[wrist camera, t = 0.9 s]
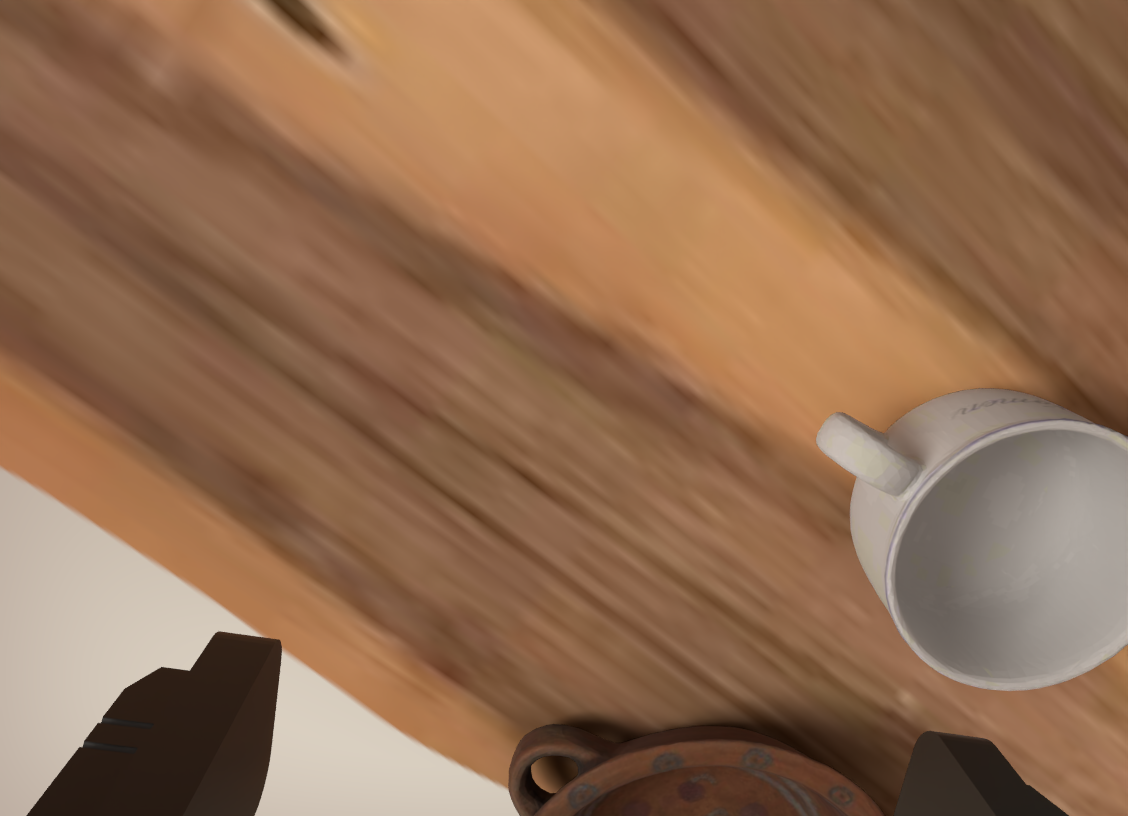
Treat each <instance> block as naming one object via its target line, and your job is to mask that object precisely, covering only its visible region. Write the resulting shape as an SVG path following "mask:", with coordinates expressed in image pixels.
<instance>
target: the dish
mask: <svg viewBox="0 0 1128 816" xmlns="http://www.w3.org/2000/svg"><path fill="white" fill-rule="evenodd" d="M551 755H559V756H564V757H569V758H571V759H572V760H574V761H575V762H576V764H577V766H578V775H577V776H576V777H575V778H574V779H573V780H572V781H570V782H569V783H567V784H566V785H564V786H563V787H562V788H561V789H560V790H559V791H558V792H557V793H549V792H547V791H545V790H543V789H541V788H540V787H539V786H538V785H537V784H536V783H535V781H534V780H533V778H532V773H531V765H532V764H533V763H534V762H535V761H536V760H538V759H540V758H542V757H545V756H551ZM508 786H509V793H510V796H511V799H512V802H513V804H514V806H515V808H516V810H517V811H518V813H519V815H520V816H885V814H884V813H883V812H882V810H881V808H880V807H879V806H878V805H877V804H876V803H875V802H874V801H873V800H872V799H871V798H870V797H869V795H867V794H866V793H865V792H864V791H863V790H862V789H861V788H860V787H859V786H857V785H856V784H855V783H853V782H852V781H851V780H850V779H848V778H847V777H845V776H844V775H842V774H841V773H839V772H838V771H836V770H835V769H833V768H831V767H829V766H827V765H825V764H823V763H821V762H818V761H816V760H814V759H812V758H810V757H807V756H806V755H804V754H803V753H801V752H799V751H798V750H796V749H794V748H792V747H791V746H788V745H786V744H784V743H782V742H780V741H778V740H776V739H773V738H771V737H768V736H766V735H763V734H759V733H756V732H753V731H750V730H746V729H741V728H736V727H725V726H694V727H686V728H679V729H672V730H667V731H662V732H658V733H653V734H649V735H646V736H643V737H640V738H637V739H633V740H630V741H627V742H623V743H614V742H611V741H609V740H606V739H603V738H601V737H599V736H596V735H594V734H592V733H589V732H587V731H585V730H582V729H580V728H576V727H572V726H568V725H559V724H552V725H546V726H543V727H540V728H537V729H535V730H533V731H531V732H530V733H528V734H527V735H525V736H524V737H523V738H522V739H521V740H520V742H519V744H518V746H517V748H516V750H515V753H514V755H513V758H512V761H511V765H510V768H509V784H508Z"/></svg>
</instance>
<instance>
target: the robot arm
mask: <svg viewBox="0 0 1128 816" xmlns="http://www.w3.org/2000/svg"><path fill="white" fill-rule="evenodd" d="M281 655H282V646H281V641H280V640H277V639H270V638H263V637H255V636H248V635H241V634H233V633H227V632H217V633H215V635H214V636H213V637H212V639H211V640H210V642H209V643H208V645H207V646H206V648H205V649H204V651H203V652H202V654H201V655H200V657H199V658H198V659H197V661H196V662H195V664H194V665H193V667H192V668H191V670H190V671H187V670H180V669H172V668H164V667H161V668H159V669H157V670H156V671H154V672H152V673H151V674H149V675H147V676H146V677H144V678H142V679H140V680H139V681H137V682H135V683H134V684H132V685H130V686H129V687H127V688H125V689H124V690H123V692H122V693H121V694H120V696H119V697H118V698H117V699H116V701H115V702H114V703H113V705H112V706H111V707H110V709H109V710H108V711H107V712H106V714H105V715H104V716H103V719H102V722H101V723H98V724H97V725H96V726H95V728H94V729H93V730H92V732H91V733H90V734H89V736H88V737H87V738H86V740H85V741H84V745H83V747H79V748H78V750H77V751H76V752H75V754H74V755H73V756H72V758H71V759H70V760H69V761H68V763H67V764H66V765H65V767H64V768H63V769H62V770H61V772H60V773H59V774H58V776H57V777H56V778H55V779H54V781H53V782H52V783H51V785H50V786H49V787H48V788H47V790H46V791H45V792H44V794H43V795H42V796H41V798H40V799H39V800H38V801H37V803H36V804H35V806H34V807H33V808H32V809H31V811H30V812H29V813H28V815H27V816H254V815H255V813H256V810H257V808H258V805H259V802H260V799H261V795H262V792H263V789H264V784H265V780H266V776H267V772H268V767H269V762H270V755H271V747H272V738H273V729H274V720H275V711H276V702H277V693H278V684H279V674H280V666H281ZM894 816H1069V815H1067V814H1066V813H1065V812H1063V811H1062V810H1061V809H1060V808H1058V807H1057V806H1056V805H1054V804H1053V803H1052V802H1051V801H1049V800H1048V799H1047V798H1045V797H1044V796H1043V795H1041V794H1040V793H1039V792H1038V791H1036V790H1035V789H1034V788H1032V787H1031V786H1030V785H1026V784H1025V782H1024V781H1023V780H1022V779H1021V777H1020V776H1019V775H1018V774H1017V772H1016V771H1015V770H1014V769H1013V767H1012V766H1011V765H1010V764H1009V762H1008V761H1007V760H1006V759H1005V757H1004V756H1003V755H1002V754H1001V752H1000V751H999V750H998V748H997V747H996V746H995V745H994V744H993V743H992V742H991V741H989V740H988V739H984V738H977V737H970V736H963V735H956V734H948V733H941V732H934V731H927V732H924V733H923V734H922V735H921V736H920V737H919V738H918V740H917V742H916V744H915V747H914V749H913V753H912V756H911V759H910V763H909V766H908V769H907V773H906V776H905V779H904V783H903V786H902V789H901V793H900V796H899V799H898V803H897V806H896V809H895V813H894Z"/></svg>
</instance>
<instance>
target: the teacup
mask: <svg viewBox="0 0 1128 816" xmlns="http://www.w3.org/2000/svg"><path fill="white" fill-rule="evenodd" d="M816 442H817V445H818V447H819V448H820V450H821V451H823V452H824V453H825V454H826V455H827V456H828V457H829V458H831V459H832V460H834V461H835V462H836V463H837V464H839V465H840V466H841V467H843V468H844V469H846V470H847V471H849V472H850V473H852V474H853V475H855V476H856V477H857V478H856V481H855V485H854V489H853V493H852V498H851V504H850V524H851V533H852V539H853V543H854V546H855V550H856V553H857V556H858V558H859V561H860V563H861V565H862V567H863V569H864V571H865V573H866V575H867V577H868V579H869V581H870V582H871V584H872V586H873V588H874V589H875V591H876V593H877V594H878V596H879V597H880V599H881V601H882V602H883V604H884V605H885V607H886V608H887V610H888V611H889V613H890V614H891V617H892V619H893V621H894V623H895V625H896V627H897V629H898V632H899V633H900V635H901V636H902V638H903V639H904V640H905V641H906V643H907V644H908V645H909V646H910V647H911V649H912V650H913V651H914V652H915V653H916V654H917V655H918V656H919V657H920V658H921V659H922V660H923V661H924V662H926V663H927V664H928V665H929V666H931V667H932V668H933V669H935V670H936V671H938V672H939V673H941V674H943V675H945V676H947V677H949V678H951V679H953V680H955V681H958V682H961V683H964V684H967V685H971V686H974V687H978V688H984V689H989V690H1004V691H1015V690H1031V689H1037V688H1042V687H1047V686H1051V685H1055V684H1059V683H1062V682H1065V681H1067V680H1070V679H1072V678H1074V677H1077V676H1079V675H1081V674H1084V673H1086V672H1088V671H1090V670H1091V669H1093V668H1095V667H1096V666H1098V665H1100V664H1101V663H1103V662H1105V661H1106V660H1108V659H1110V658H1111V657H1113V656H1115V655H1116V654H1117V653H1118V652H1119V651H1120V650H1122V649H1123V648H1124V647H1125V646H1127V645H1128V437H1127V436H1125V435H1123V434H1121V433H1119V432H1117V431H1114V430H1112V429H1110V428H1108V427H1105V426H1103V425H1099V424H1095V423H1093V422H1091V421H1090V420H1088V419H1086V418H1084V417H1082V416H1080V415H1078V414H1076V413H1074V412H1072V411H1070V410H1068V409H1066V408H1063V407H1061V406H1059V405H1057V404H1054V403H1052V402H1050V401H1047V400H1045V399H1042V398H1039V397H1036V396H1033V395H1030V394H1026V393H1022V392H1017V391H1012V390H1007V389H994V388H979V389H970V390H962V391H958V392H954V393H950V394H946V395H943V396H940V397H937V398H935V399H932V400H930V401H928V402H926V403H923V404H921V405H920V406H918V407H916V408H914V409H913V410H911V411H910V412H908V413H907V414H905V415H904V416H903V417H901V418H900V419H899V420H897V421H896V422H895V423H894V424H893V425H891V426H890V427H889V428H888V429H887V430H886V431H885V433H881V432H879V431H876V430H874V429H872V428H870V427H869V426H867V425H865V424H863V423H861V422H859V421H858V420H856V419H854V418H852V417H851V416H849V415H847V414H845V413H840V412H836V413H834V414H832V415H830V416H829V417H828V418H827V419H826V421H825V422H824V423H823V425H822V427H821V429H820V430H819V432H818V434H817V438H816Z"/></svg>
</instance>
